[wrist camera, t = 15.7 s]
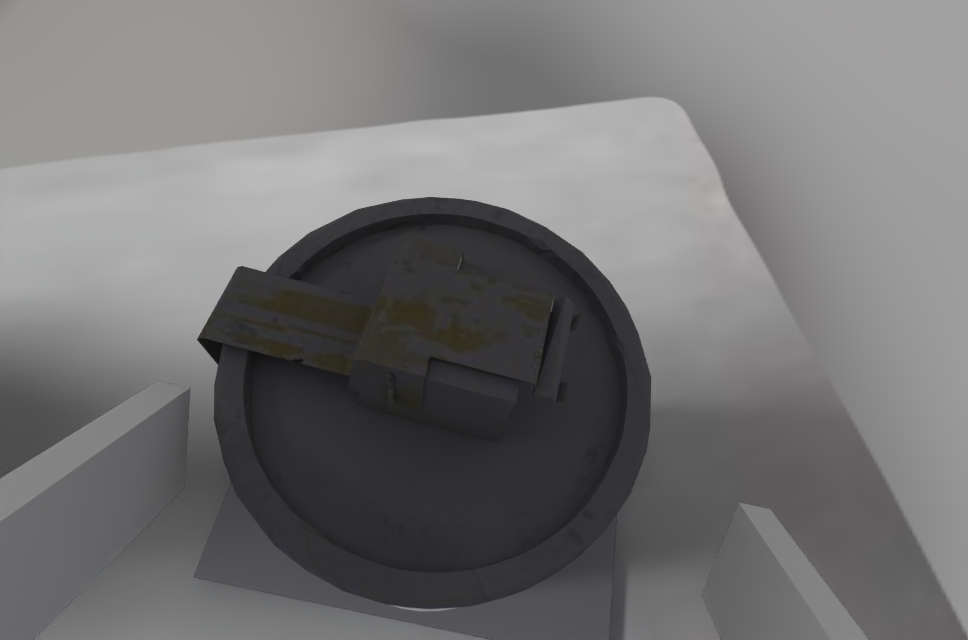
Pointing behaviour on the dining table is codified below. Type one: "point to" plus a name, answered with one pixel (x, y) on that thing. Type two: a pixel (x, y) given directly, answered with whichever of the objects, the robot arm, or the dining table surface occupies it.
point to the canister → (429, 401)
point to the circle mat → (506, 622)
